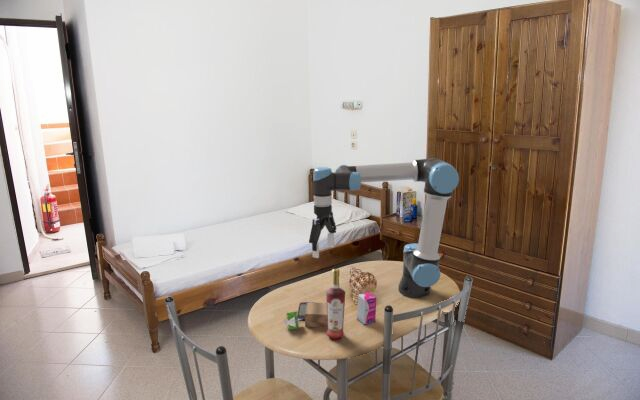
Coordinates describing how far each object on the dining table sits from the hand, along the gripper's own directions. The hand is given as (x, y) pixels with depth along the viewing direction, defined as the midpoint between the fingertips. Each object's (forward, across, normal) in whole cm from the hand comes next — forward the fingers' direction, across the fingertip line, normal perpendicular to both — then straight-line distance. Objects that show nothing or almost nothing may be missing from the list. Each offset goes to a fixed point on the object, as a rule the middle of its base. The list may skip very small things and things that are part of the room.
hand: (323, 252), depth 199 cm
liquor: (+26, +20, +16) cm, 36 cm away
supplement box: (+26, +3, +21) cm, 34 cm away
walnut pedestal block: (+26, +12, +4) cm, 29 cm away
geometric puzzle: (+26, +22, -3) cm, 34 cm away
